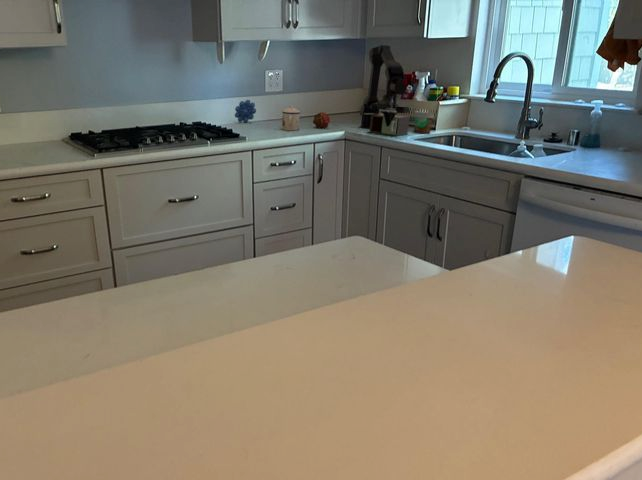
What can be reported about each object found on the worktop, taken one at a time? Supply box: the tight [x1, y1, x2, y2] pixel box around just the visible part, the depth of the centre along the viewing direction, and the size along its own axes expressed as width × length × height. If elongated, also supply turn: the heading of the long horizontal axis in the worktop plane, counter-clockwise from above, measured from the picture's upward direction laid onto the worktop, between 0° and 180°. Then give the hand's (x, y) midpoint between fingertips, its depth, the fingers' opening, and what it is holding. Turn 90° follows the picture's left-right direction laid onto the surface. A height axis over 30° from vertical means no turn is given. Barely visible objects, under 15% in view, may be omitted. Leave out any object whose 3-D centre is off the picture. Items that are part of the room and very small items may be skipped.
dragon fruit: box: [312, 111, 331, 129], centre depth 322 cm, size 8×8×12 cm
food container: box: [413, 110, 435, 135], centre depth 314 cm, size 12×6×10 cm, turn 25°
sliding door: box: [381, 117, 397, 135], centre depth 301 cm, size 8×3×8 cm, turn 46°
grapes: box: [234, 99, 257, 124], centre depth 331 cm, size 12×7×12 cm, turn 84°
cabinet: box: [366, 112, 410, 138], centre depth 308 cm, size 16×12×9 cm
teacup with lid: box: [281, 105, 301, 132], centre depth 311 cm, size 12×9×12 cm
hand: (387, 126), depth 300 cm, fingers closed
